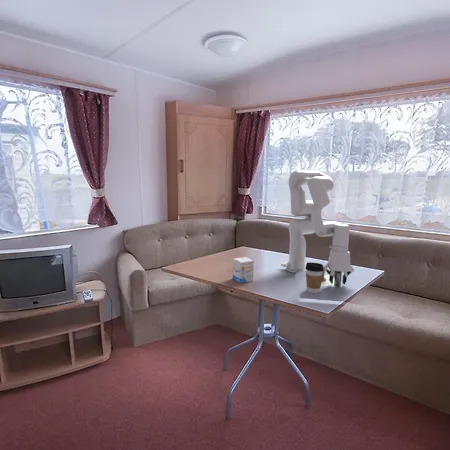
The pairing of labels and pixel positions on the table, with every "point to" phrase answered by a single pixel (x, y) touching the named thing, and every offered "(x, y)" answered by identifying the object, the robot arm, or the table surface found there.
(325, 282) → the base board
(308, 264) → the coffee cup
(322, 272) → the bobbin
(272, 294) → the table surface
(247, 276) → the ink box
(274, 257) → the table surface
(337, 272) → the peg
